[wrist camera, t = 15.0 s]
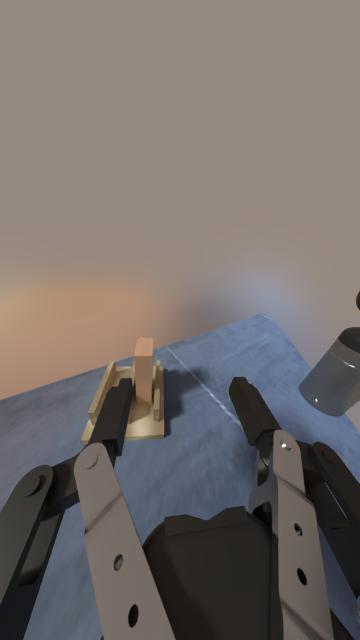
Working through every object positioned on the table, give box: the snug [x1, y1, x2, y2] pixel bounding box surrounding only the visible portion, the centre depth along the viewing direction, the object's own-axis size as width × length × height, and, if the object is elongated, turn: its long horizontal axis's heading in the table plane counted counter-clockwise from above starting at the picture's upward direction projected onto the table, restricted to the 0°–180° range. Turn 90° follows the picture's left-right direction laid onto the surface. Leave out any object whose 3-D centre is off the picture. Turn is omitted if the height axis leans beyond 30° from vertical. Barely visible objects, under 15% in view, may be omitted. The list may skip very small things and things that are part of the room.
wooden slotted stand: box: [81, 360, 164, 445], centre depth 31 cm, size 14×16×6 cm
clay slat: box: [134, 338, 153, 406], centre depth 29 cm, size 3×5×14 cm, turn 7°
